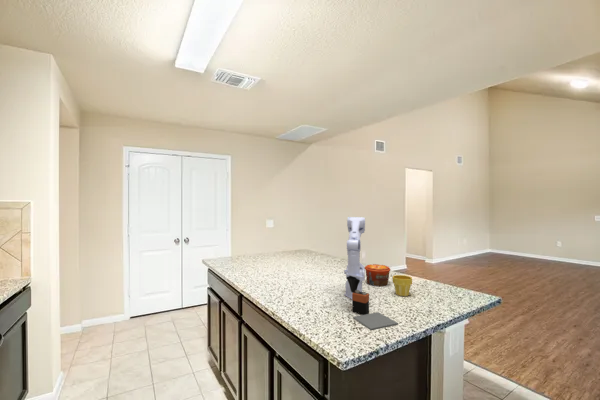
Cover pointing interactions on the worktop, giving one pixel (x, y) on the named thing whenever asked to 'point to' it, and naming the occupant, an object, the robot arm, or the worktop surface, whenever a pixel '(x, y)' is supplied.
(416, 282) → the worktop surface
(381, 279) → the food container
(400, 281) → the plant pot
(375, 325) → the mat
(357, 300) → the battery
